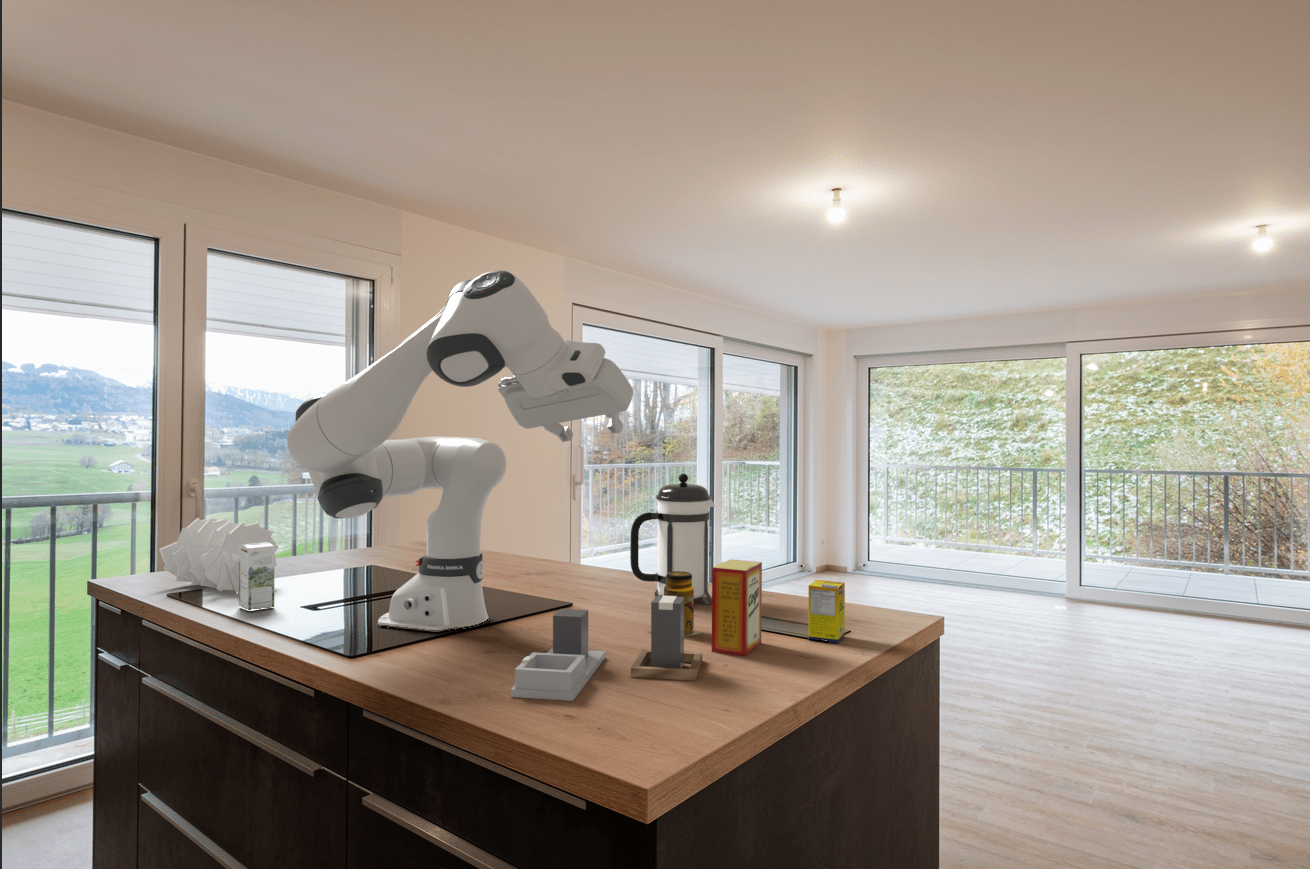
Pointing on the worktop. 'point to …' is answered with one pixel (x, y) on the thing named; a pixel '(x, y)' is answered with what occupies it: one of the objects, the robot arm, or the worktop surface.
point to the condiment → (682, 587)
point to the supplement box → (826, 611)
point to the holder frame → (667, 673)
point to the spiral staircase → (212, 552)
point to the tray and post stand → (559, 661)
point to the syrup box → (256, 575)
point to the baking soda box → (736, 607)
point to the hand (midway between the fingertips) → (592, 434)
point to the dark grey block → (667, 632)
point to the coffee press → (678, 536)
